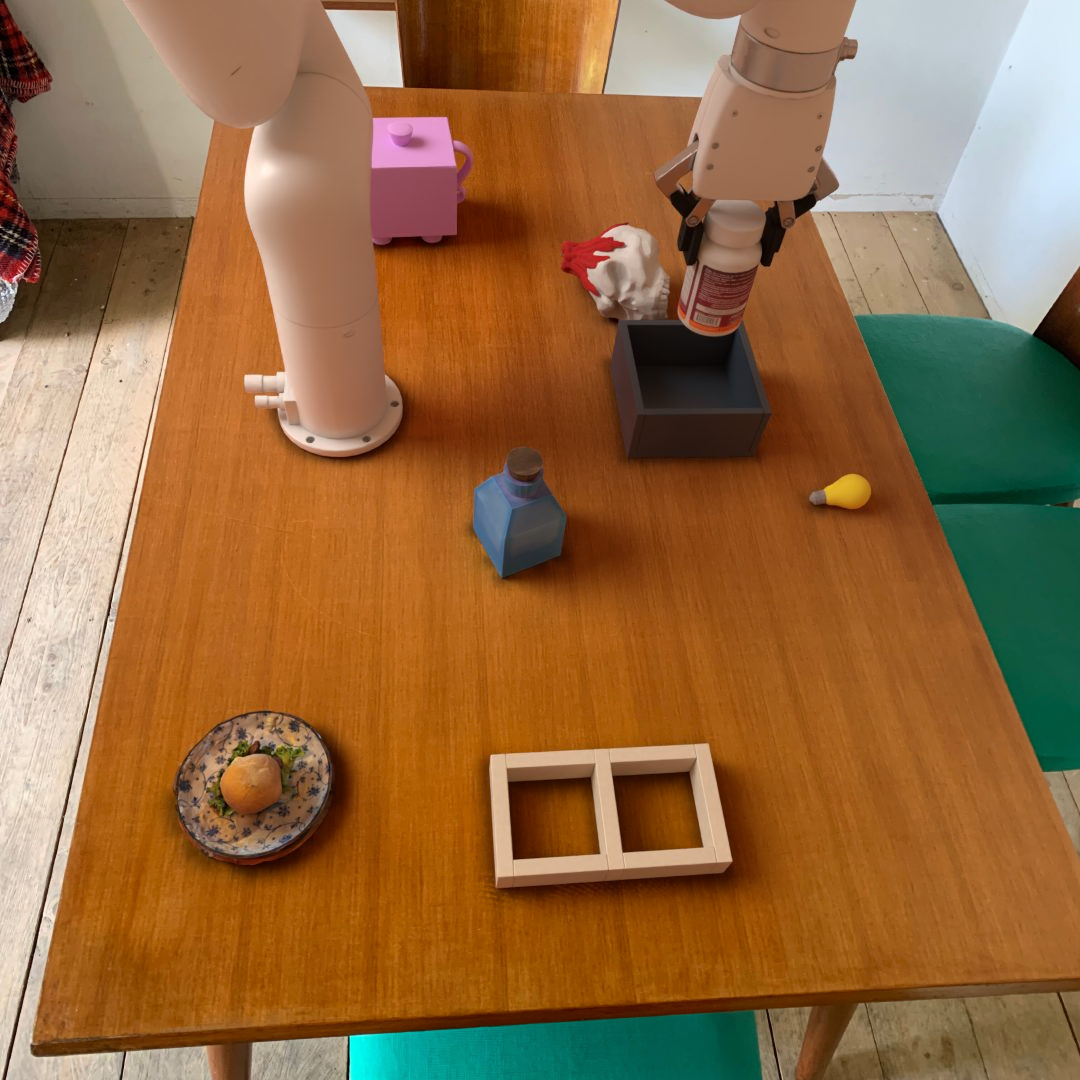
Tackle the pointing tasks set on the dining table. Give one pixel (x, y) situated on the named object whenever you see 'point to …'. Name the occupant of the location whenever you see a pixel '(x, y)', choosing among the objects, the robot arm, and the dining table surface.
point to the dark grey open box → (687, 391)
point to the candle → (621, 272)
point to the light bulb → (844, 492)
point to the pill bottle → (723, 268)
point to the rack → (609, 815)
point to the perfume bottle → (518, 515)
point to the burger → (254, 787)
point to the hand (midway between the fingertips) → (725, 254)
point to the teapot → (415, 179)
